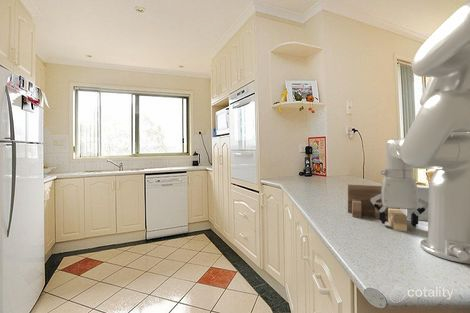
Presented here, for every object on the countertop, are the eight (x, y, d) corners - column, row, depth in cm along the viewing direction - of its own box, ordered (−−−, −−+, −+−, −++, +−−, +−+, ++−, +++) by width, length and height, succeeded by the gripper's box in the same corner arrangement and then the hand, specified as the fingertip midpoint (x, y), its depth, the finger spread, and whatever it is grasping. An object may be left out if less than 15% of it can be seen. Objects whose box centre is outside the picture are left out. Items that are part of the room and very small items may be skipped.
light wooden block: (407, 231, 74) (407, 216, 74) (393, 229, 75) (393, 214, 75) (398, 220, 85) (398, 207, 84) (386, 219, 86) (386, 206, 86)
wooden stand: (389, 220, 85) (390, 189, 85) (348, 216, 91) (348, 186, 90) (385, 215, 92) (386, 186, 91) (347, 211, 98) (347, 184, 97)
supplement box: (431, 221, 83) (432, 188, 83) (406, 218, 88) (406, 186, 87) (429, 217, 89) (430, 185, 89) (406, 213, 94) (406, 183, 93)
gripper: (370, 174, 77) (370, 224, 78) (435, 177, 70) (434, 231, 71) (368, 172, 84) (367, 218, 85) (426, 174, 77) (425, 224, 77)
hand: (397, 224), depth 78 cm, fingers open, 8 cm apart
